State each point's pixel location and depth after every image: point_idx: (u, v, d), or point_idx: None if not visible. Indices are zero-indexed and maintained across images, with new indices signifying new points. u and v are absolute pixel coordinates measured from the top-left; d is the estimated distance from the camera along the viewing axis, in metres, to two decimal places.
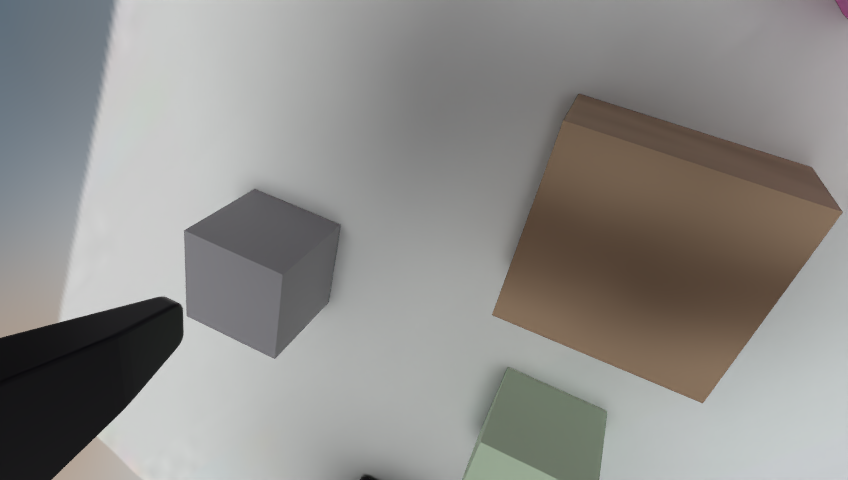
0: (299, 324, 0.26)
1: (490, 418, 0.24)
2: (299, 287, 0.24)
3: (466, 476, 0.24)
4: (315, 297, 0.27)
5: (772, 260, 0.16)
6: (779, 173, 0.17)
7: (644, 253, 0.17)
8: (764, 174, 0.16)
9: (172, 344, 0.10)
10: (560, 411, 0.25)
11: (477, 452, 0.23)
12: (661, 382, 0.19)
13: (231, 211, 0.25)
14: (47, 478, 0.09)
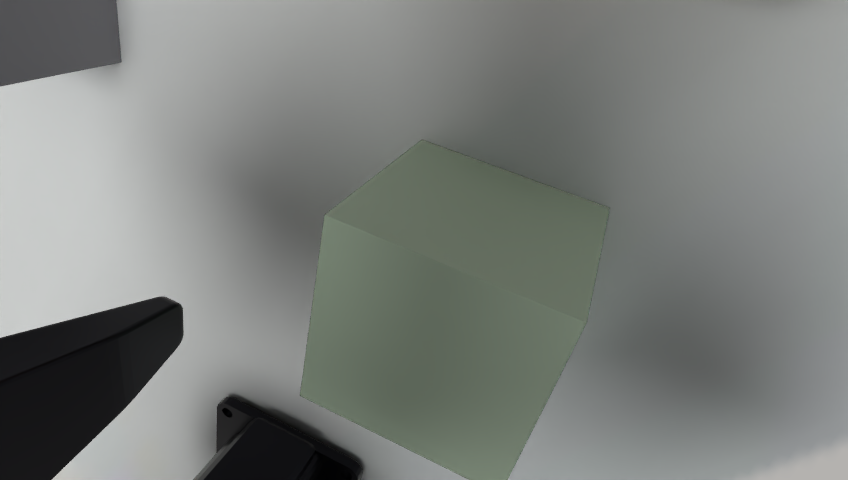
0: (25, 57, 0.14)
1: (362, 188, 0.11)
2: None
3: (313, 314, 0.11)
4: (65, 18, 0.14)
5: None
6: None
7: None
8: None
9: (172, 344, 0.10)
10: (515, 197, 0.12)
11: (323, 246, 0.10)
12: None
13: None
14: (47, 478, 0.09)
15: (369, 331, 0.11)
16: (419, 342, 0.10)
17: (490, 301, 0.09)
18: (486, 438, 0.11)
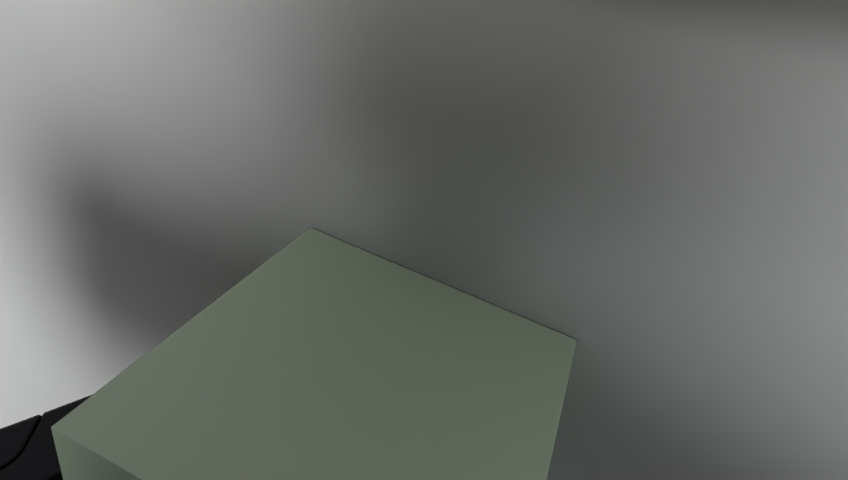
0: None
1: (159, 348, 0.07)
2: None
3: None
4: None
5: None
6: None
7: None
8: None
9: None
10: (428, 338, 0.08)
11: (65, 468, 0.06)
12: None
13: None
14: None
15: None
16: None
17: None
18: None
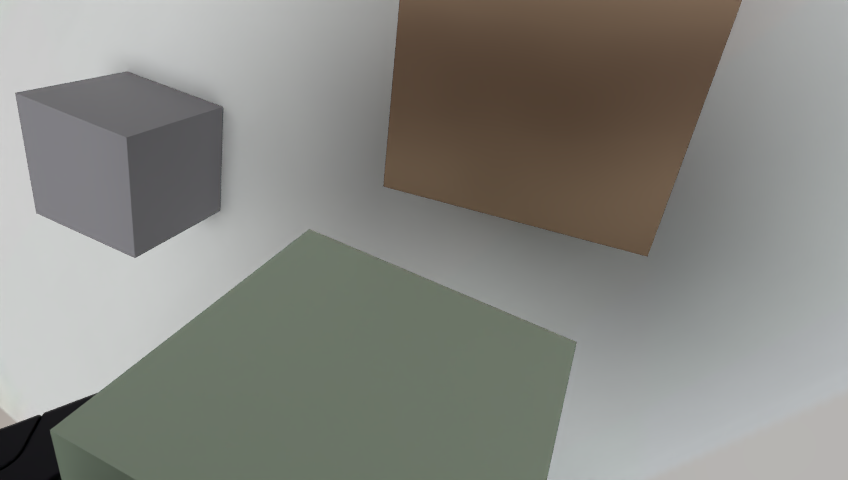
0: (172, 224, 0.22)
1: (158, 350, 0.07)
2: (162, 168, 0.20)
3: None
4: (194, 195, 0.23)
5: (694, 20, 0.12)
6: None
7: (539, 52, 0.14)
8: None
9: None
10: (427, 340, 0.08)
11: (64, 471, 0.06)
12: (592, 236, 0.15)
13: (87, 84, 0.21)
14: None
15: None
16: None
17: None
18: None
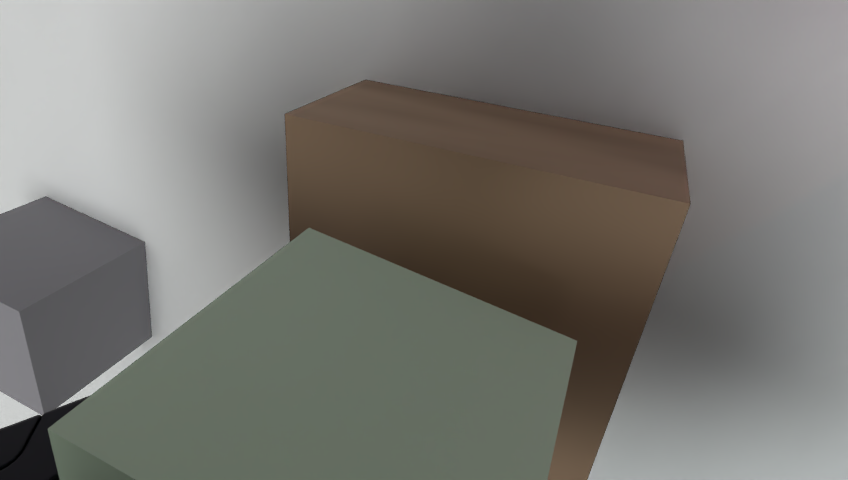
0: (91, 370, 0.21)
1: (157, 349, 0.07)
2: (71, 324, 0.19)
3: None
4: (116, 334, 0.21)
5: (611, 288, 0.10)
6: (615, 154, 0.11)
7: None
8: (585, 158, 0.11)
9: None
10: (427, 338, 0.08)
11: (62, 470, 0.06)
12: None
13: None
14: None
15: None
16: None
17: None
18: None
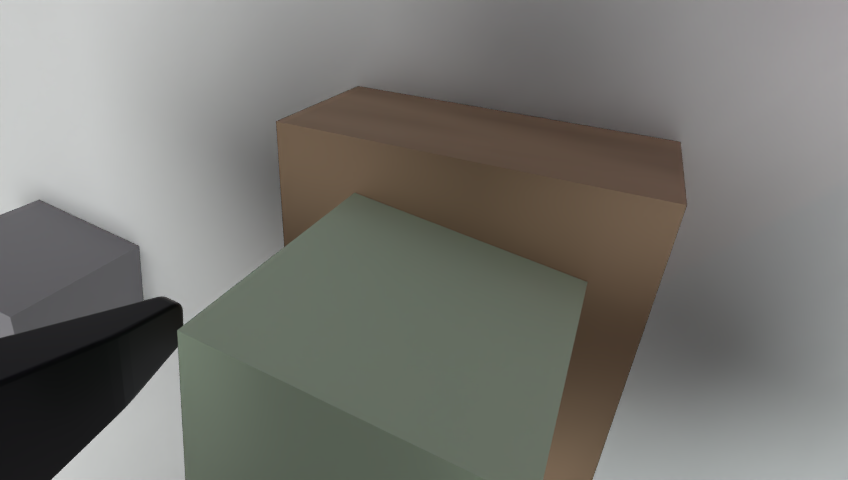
0: None
1: (248, 279, 0.08)
2: None
3: (186, 446, 0.08)
4: None
5: (609, 293, 0.10)
6: (610, 156, 0.11)
7: None
8: (580, 160, 0.10)
9: (172, 344, 0.10)
10: (462, 277, 0.09)
11: (183, 367, 0.07)
12: None
13: None
14: (47, 478, 0.09)
15: (256, 475, 0.08)
16: None
17: (403, 460, 0.07)
18: None
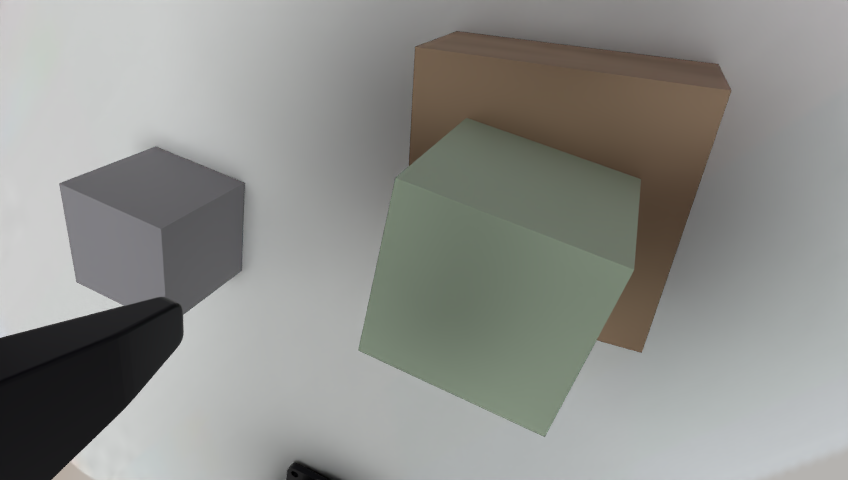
0: (200, 291, 0.24)
1: (422, 157, 0.12)
2: (191, 247, 0.22)
3: (377, 272, 0.12)
4: (219, 263, 0.25)
5: (670, 165, 0.14)
6: (668, 69, 0.14)
7: None
8: (647, 70, 0.14)
9: (172, 344, 0.10)
10: (557, 168, 0.13)
11: (392, 206, 0.11)
12: None
13: (121, 166, 0.23)
14: (47, 478, 0.09)
15: (430, 285, 0.12)
16: (478, 294, 0.12)
17: (546, 253, 0.11)
18: (535, 383, 0.12)
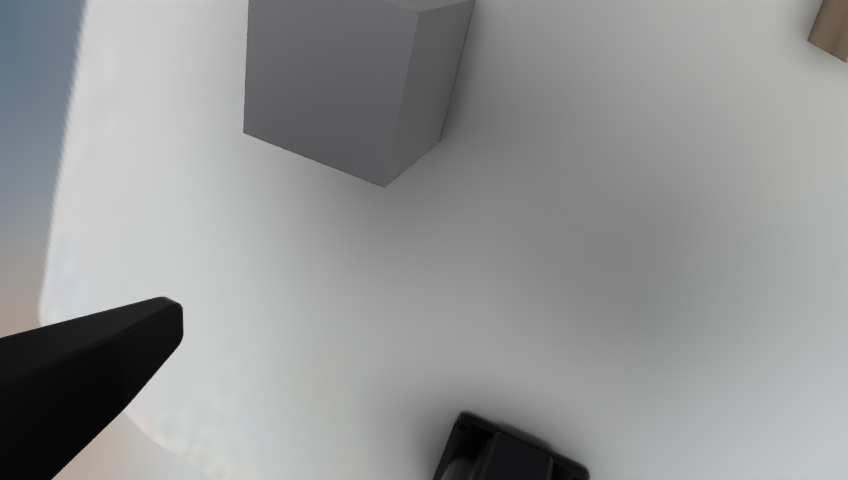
0: (413, 149, 0.17)
1: None
2: (426, 68, 0.16)
3: None
4: (433, 114, 0.18)
5: None
6: None
7: None
8: None
9: (172, 344, 0.10)
10: None
11: None
12: None
13: None
14: (47, 478, 0.09)
15: None
16: None
17: None
18: None
